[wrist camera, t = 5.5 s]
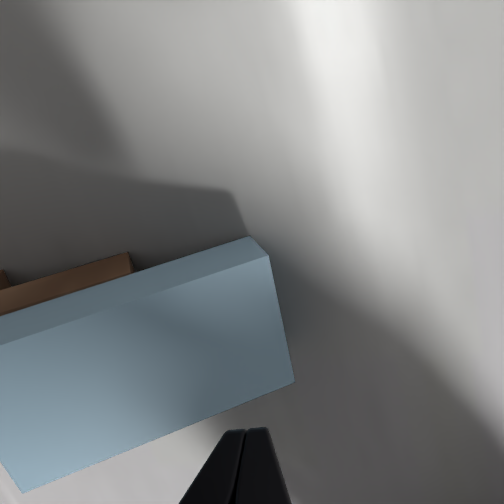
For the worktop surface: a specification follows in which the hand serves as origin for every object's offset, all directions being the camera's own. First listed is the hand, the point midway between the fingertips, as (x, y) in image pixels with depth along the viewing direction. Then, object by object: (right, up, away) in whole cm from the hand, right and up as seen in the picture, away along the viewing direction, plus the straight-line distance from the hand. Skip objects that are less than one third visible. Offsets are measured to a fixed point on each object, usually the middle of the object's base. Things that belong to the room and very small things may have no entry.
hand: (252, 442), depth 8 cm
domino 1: (+1, +2, +4) cm, 5 cm away
